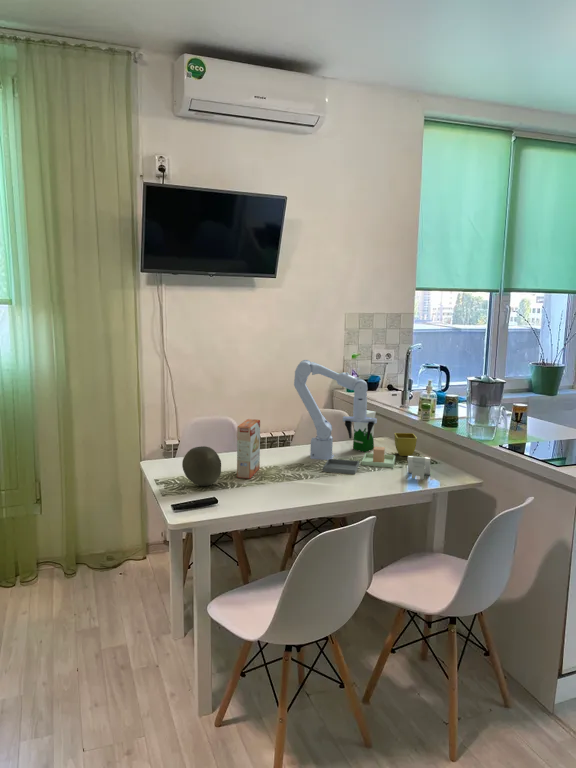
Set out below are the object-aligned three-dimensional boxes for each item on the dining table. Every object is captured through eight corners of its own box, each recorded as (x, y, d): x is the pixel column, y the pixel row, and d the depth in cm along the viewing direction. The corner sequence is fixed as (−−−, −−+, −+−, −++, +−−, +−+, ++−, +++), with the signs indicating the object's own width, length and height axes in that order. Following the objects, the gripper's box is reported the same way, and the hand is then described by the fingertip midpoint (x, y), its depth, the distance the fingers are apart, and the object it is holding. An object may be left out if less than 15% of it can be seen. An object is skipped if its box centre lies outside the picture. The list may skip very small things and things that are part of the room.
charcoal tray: (322, 472, 232) (322, 467, 232) (328, 463, 245) (328, 458, 244) (354, 475, 229) (355, 470, 229) (359, 466, 242) (359, 461, 241)
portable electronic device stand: (430, 474, 232) (431, 454, 230) (428, 480, 224) (429, 459, 223) (408, 472, 234) (409, 452, 233) (406, 478, 227) (407, 457, 226)
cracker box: (251, 479, 224) (251, 426, 220) (236, 478, 225) (236, 426, 222) (260, 468, 237) (260, 419, 234) (246, 467, 239) (246, 418, 235)
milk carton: (350, 449, 267) (351, 407, 264) (361, 445, 273) (362, 404, 270) (365, 453, 261) (366, 409, 258) (377, 449, 268) (378, 407, 264)
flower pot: (416, 457, 254) (417, 438, 253) (396, 457, 254) (397, 437, 253) (412, 452, 263) (413, 433, 262) (393, 452, 263) (394, 432, 262)
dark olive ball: (201, 477, 226) (201, 440, 223) (229, 484, 218) (228, 446, 215) (175, 487, 214) (174, 448, 212) (203, 495, 206) (202, 454, 204)
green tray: (361, 466, 241) (361, 461, 241) (365, 457, 254) (365, 452, 253) (393, 468, 238) (393, 463, 238) (395, 460, 251) (395, 455, 250)
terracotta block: (373, 463, 244) (373, 449, 243) (373, 460, 248) (374, 446, 247) (383, 463, 243) (384, 450, 242) (384, 460, 247) (384, 447, 246)
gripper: (341, 408, 245) (341, 439, 247) (376, 410, 242) (375, 442, 244) (344, 405, 252) (343, 435, 254) (377, 407, 248) (376, 438, 251)
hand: (359, 438), depth 249 cm, fingers open, 7 cm apart
